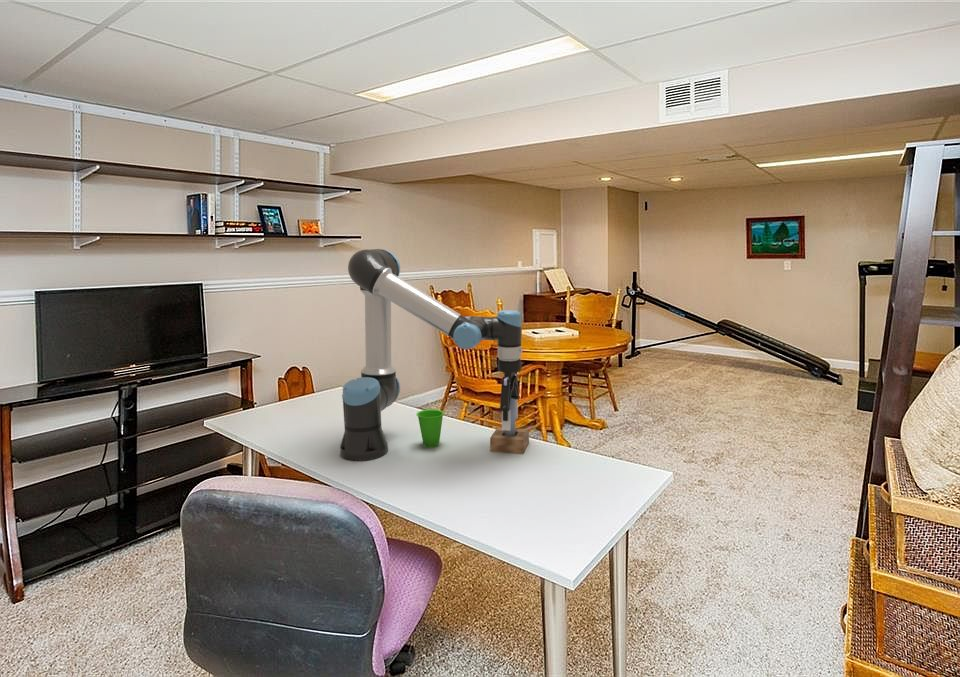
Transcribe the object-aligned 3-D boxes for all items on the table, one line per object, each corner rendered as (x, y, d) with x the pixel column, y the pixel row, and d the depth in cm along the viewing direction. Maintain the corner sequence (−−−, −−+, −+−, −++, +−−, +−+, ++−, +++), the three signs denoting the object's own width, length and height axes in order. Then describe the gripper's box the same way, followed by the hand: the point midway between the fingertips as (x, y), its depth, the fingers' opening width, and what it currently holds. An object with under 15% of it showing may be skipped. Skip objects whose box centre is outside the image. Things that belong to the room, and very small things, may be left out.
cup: (440, 450, 180) (439, 417, 178) (414, 448, 182) (412, 416, 180) (447, 441, 189) (447, 409, 187) (422, 439, 191) (421, 408, 189)
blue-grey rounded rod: (503, 448, 181) (502, 400, 179) (505, 444, 185) (505, 397, 182) (514, 449, 180) (514, 401, 178) (516, 445, 184) (516, 398, 181)
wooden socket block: (490, 451, 179) (490, 437, 178) (497, 439, 189) (497, 427, 188) (523, 453, 176) (523, 440, 176) (528, 442, 187) (528, 429, 186)
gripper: (513, 367, 166) (514, 436, 169) (527, 352, 188) (527, 414, 192) (489, 366, 167) (490, 435, 171) (505, 351, 190) (506, 412, 194)
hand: (509, 424), depth 181 cm, fingers open, 11 cm apart
